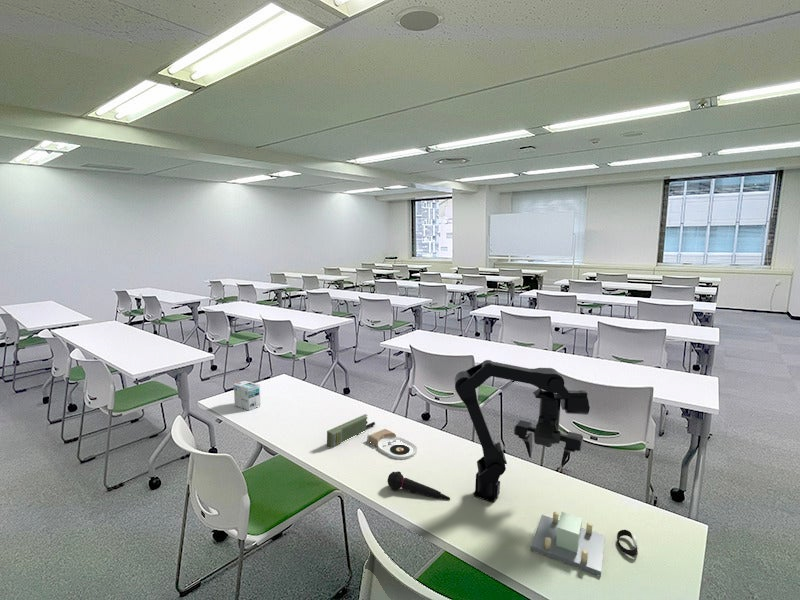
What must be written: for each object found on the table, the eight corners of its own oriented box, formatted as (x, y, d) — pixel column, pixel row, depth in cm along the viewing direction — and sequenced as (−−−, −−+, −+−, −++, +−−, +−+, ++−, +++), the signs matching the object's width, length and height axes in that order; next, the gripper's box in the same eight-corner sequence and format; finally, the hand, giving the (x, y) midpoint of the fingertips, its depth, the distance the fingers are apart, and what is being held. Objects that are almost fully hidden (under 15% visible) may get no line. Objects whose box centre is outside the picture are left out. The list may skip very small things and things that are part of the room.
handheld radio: (325, 446, 155) (371, 424, 174) (331, 449, 153) (376, 427, 172) (325, 430, 154) (371, 409, 173) (331, 433, 152) (377, 412, 171)
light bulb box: (261, 406, 191) (260, 384, 189) (249, 411, 185) (248, 388, 184) (246, 401, 196) (245, 379, 195) (233, 406, 191) (233, 383, 189)
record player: (387, 426, 166) (423, 445, 151) (387, 433, 166) (423, 453, 152) (364, 435, 158) (400, 456, 143) (364, 443, 158) (400, 464, 144)
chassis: (530, 550, 103) (531, 536, 103) (541, 518, 115) (542, 506, 115) (600, 576, 96) (602, 561, 95) (604, 539, 108) (606, 526, 107)
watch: (641, 560, 101) (643, 546, 100) (620, 556, 102) (622, 543, 102) (632, 538, 108) (634, 526, 108) (613, 535, 109) (614, 522, 109)
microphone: (449, 505, 126) (388, 485, 132) (453, 486, 126) (392, 466, 132) (446, 511, 120) (383, 489, 126) (450, 491, 121) (387, 470, 127)
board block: (555, 545, 103) (557, 527, 103) (560, 529, 110) (561, 511, 109) (577, 553, 101) (578, 534, 100) (580, 535, 107) (582, 518, 106)
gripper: (510, 414, 119) (507, 464, 121) (579, 430, 109) (575, 484, 111) (520, 401, 128) (517, 448, 130) (585, 415, 119) (581, 466, 121)
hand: (546, 461), depth 123 cm, fingers open, 9 cm apart
